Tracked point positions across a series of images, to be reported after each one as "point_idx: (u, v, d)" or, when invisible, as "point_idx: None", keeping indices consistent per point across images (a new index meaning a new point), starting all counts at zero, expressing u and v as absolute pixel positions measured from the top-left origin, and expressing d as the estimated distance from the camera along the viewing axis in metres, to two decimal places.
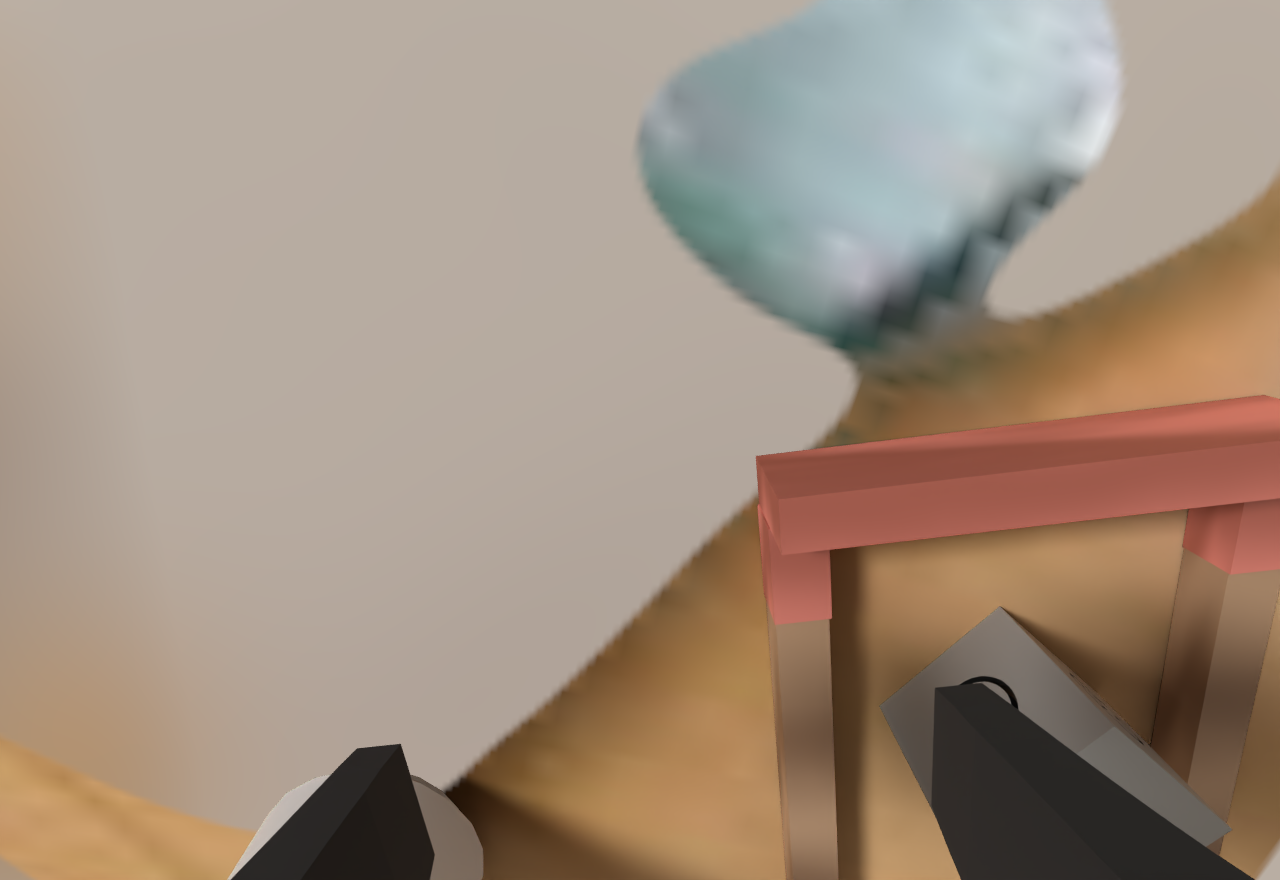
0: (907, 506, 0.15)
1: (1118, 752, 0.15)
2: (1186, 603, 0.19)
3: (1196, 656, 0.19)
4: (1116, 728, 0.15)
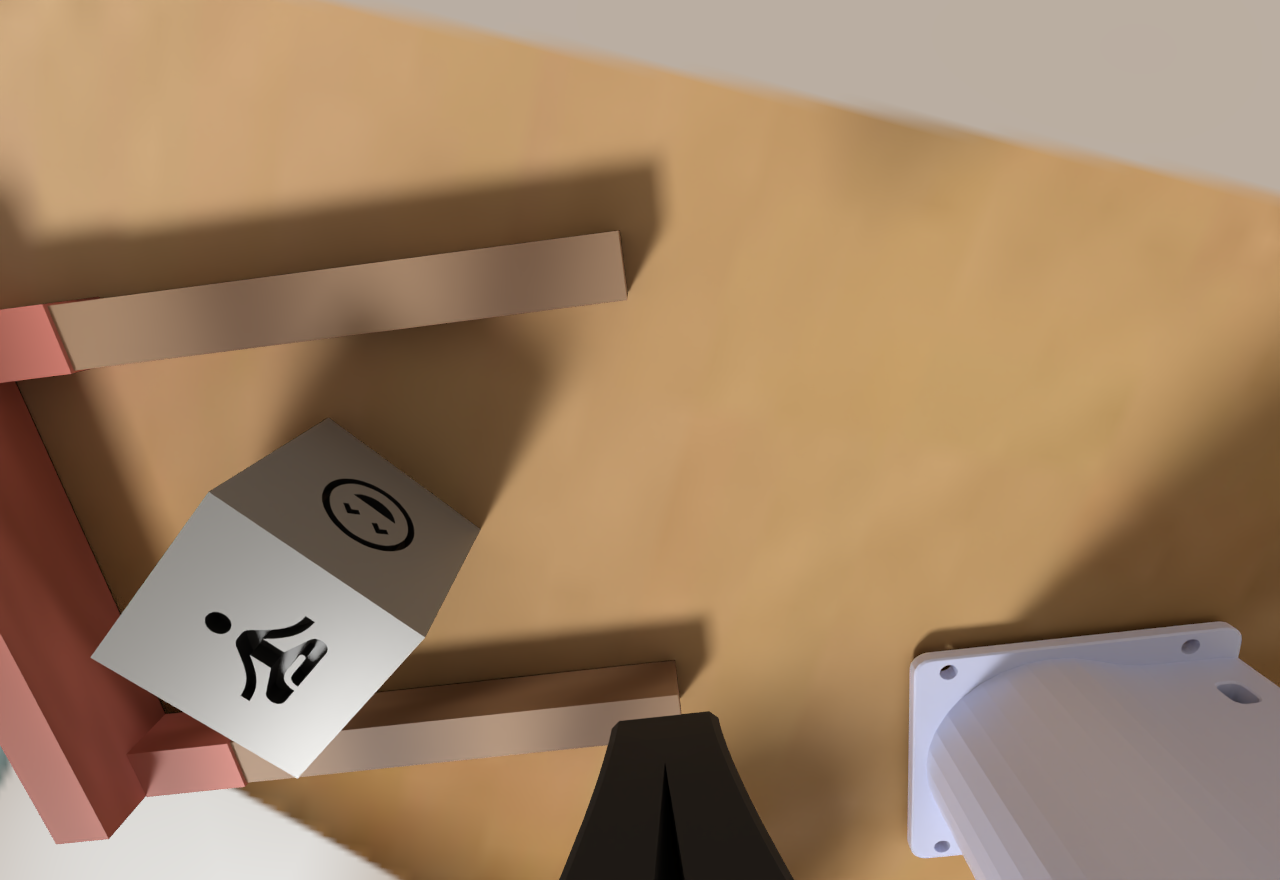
0: (28, 756, 0.16)
1: (125, 645, 0.13)
2: None
3: None
4: (94, 654, 0.13)
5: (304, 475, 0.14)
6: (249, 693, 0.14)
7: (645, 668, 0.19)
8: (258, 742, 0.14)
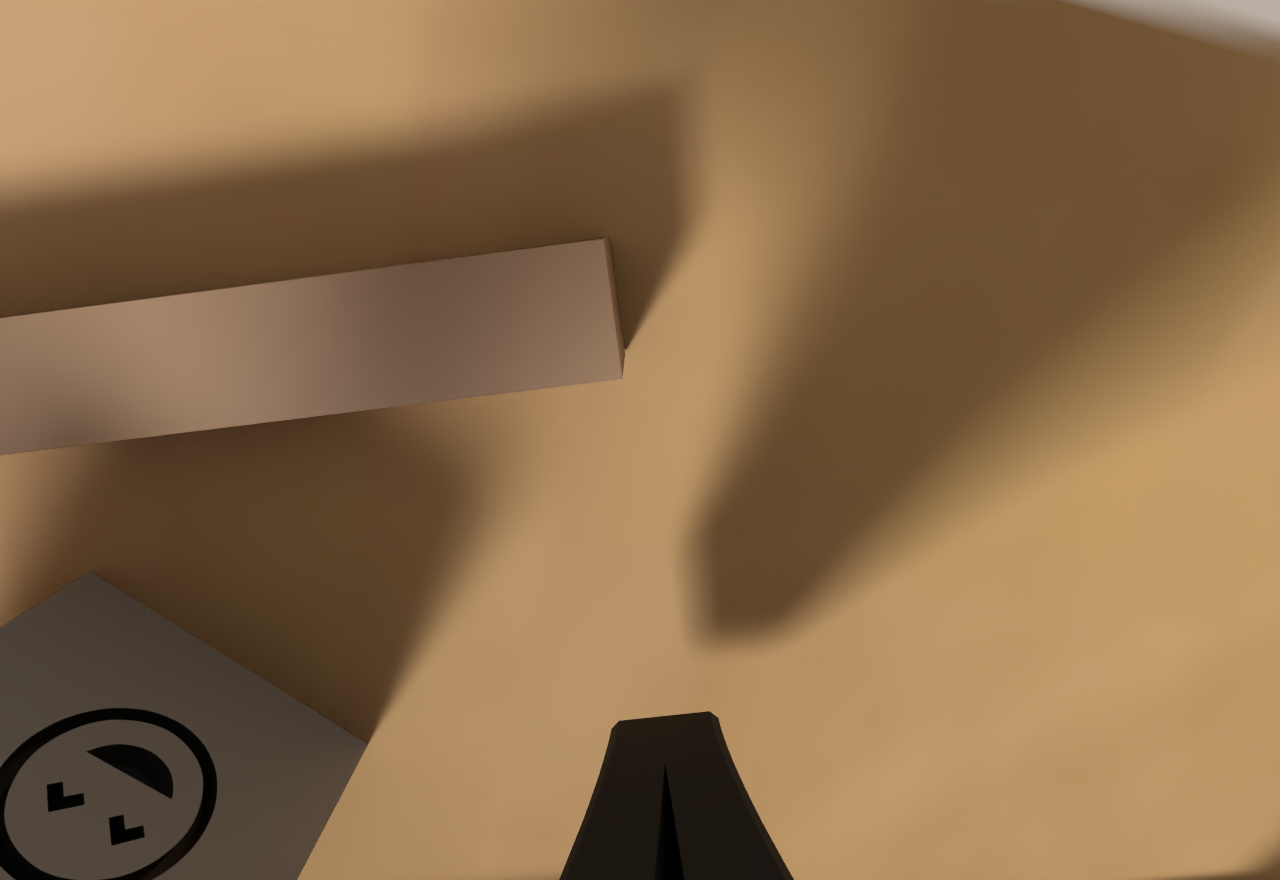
0: None
1: None
2: None
3: None
4: None
5: None
6: None
7: None
8: None
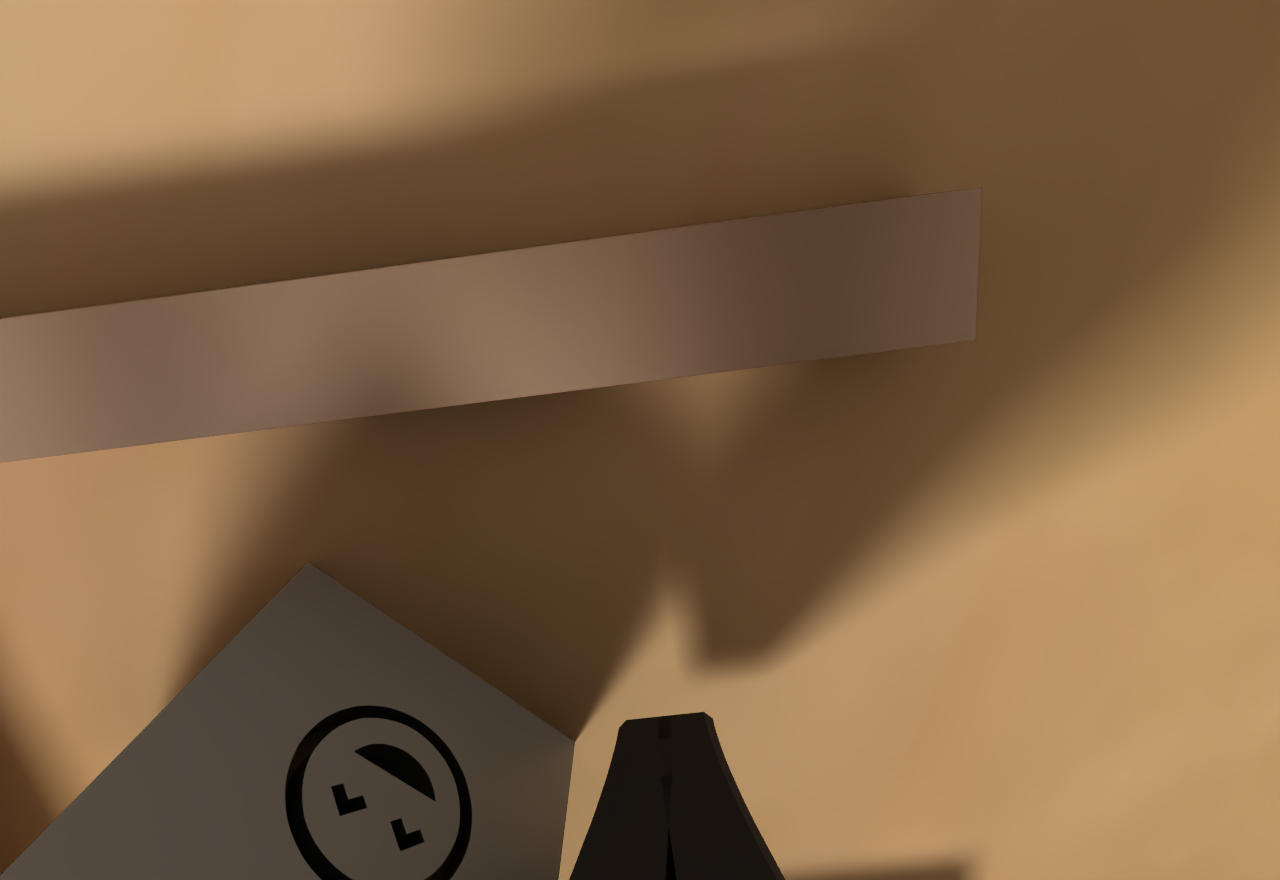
0: None
1: None
2: None
3: None
4: None
5: (248, 738, 0.07)
6: None
7: None
8: None
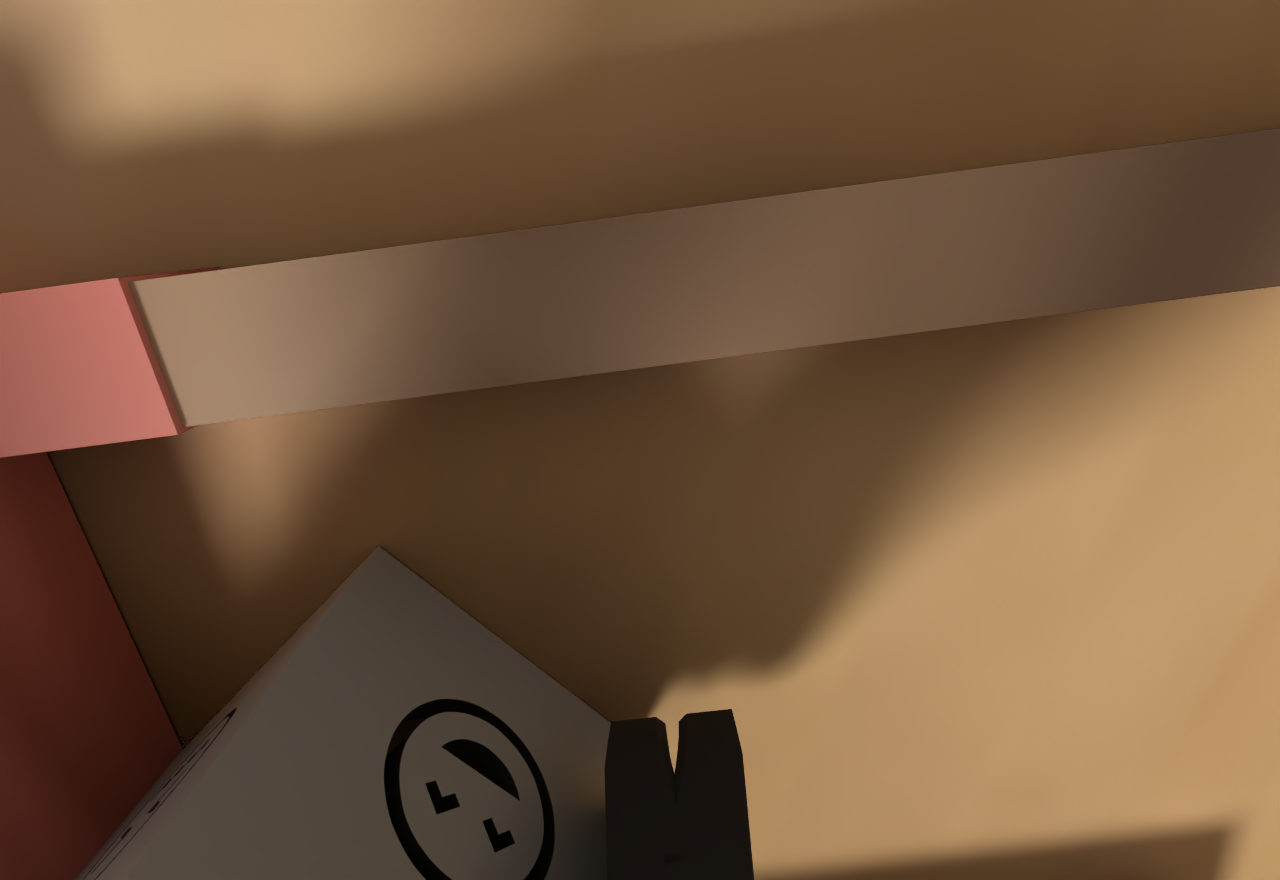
0: None
1: None
2: None
3: None
4: None
5: (344, 730, 0.06)
6: None
7: None
8: None
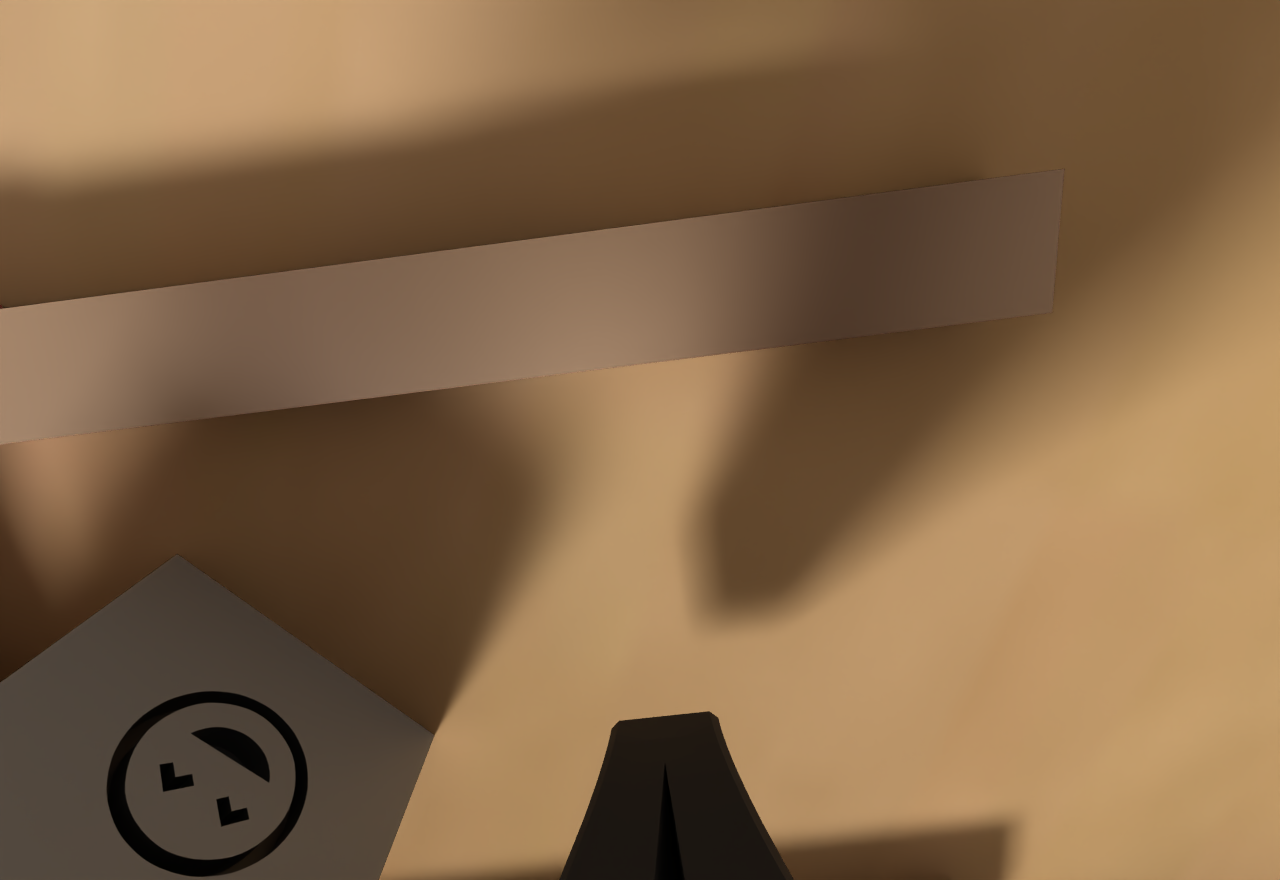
0: None
1: None
2: None
3: None
4: None
5: (80, 716, 0.07)
6: None
7: None
8: None
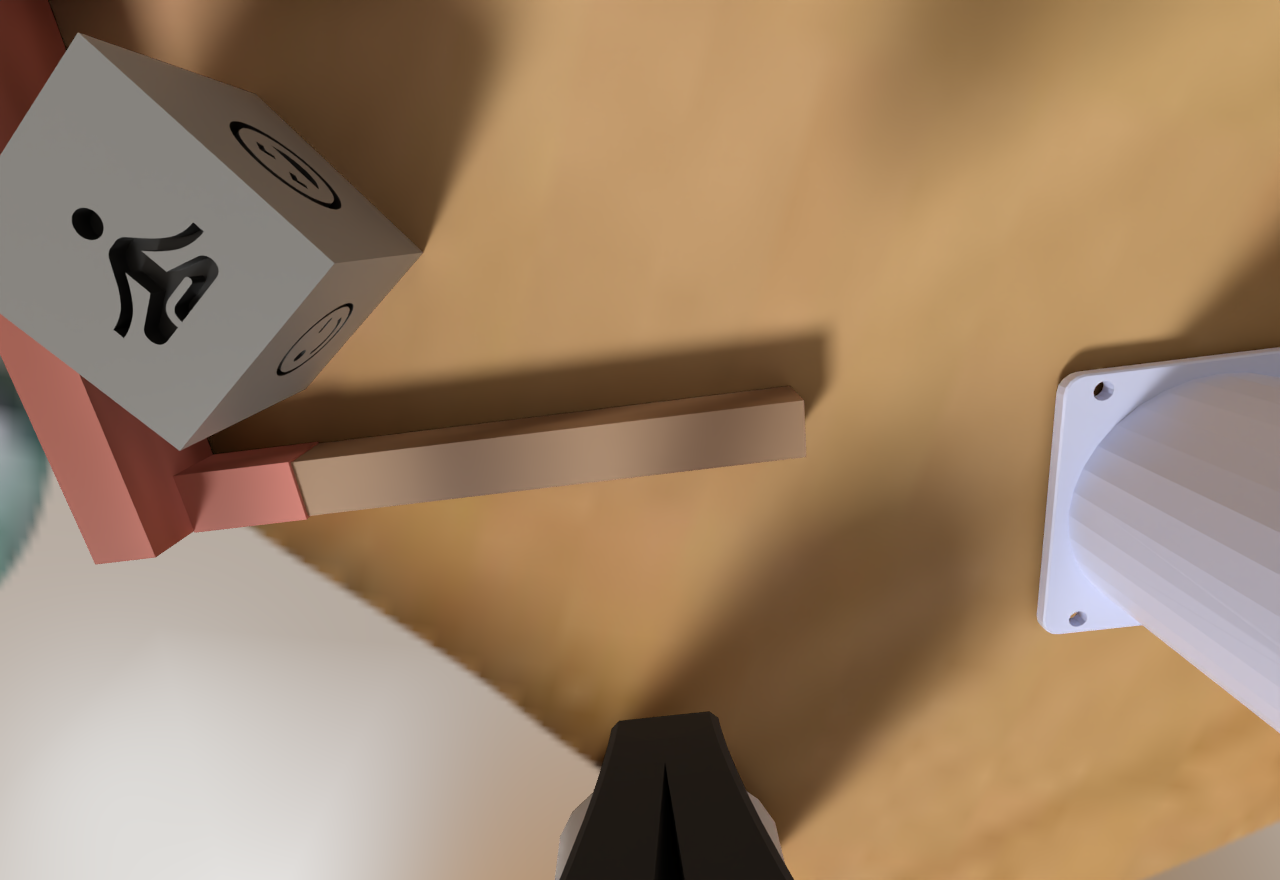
0: (66, 443, 0.14)
1: None
2: None
3: None
4: None
5: (211, 100, 0.12)
6: (125, 332, 0.12)
7: (758, 391, 0.17)
8: (133, 397, 0.12)
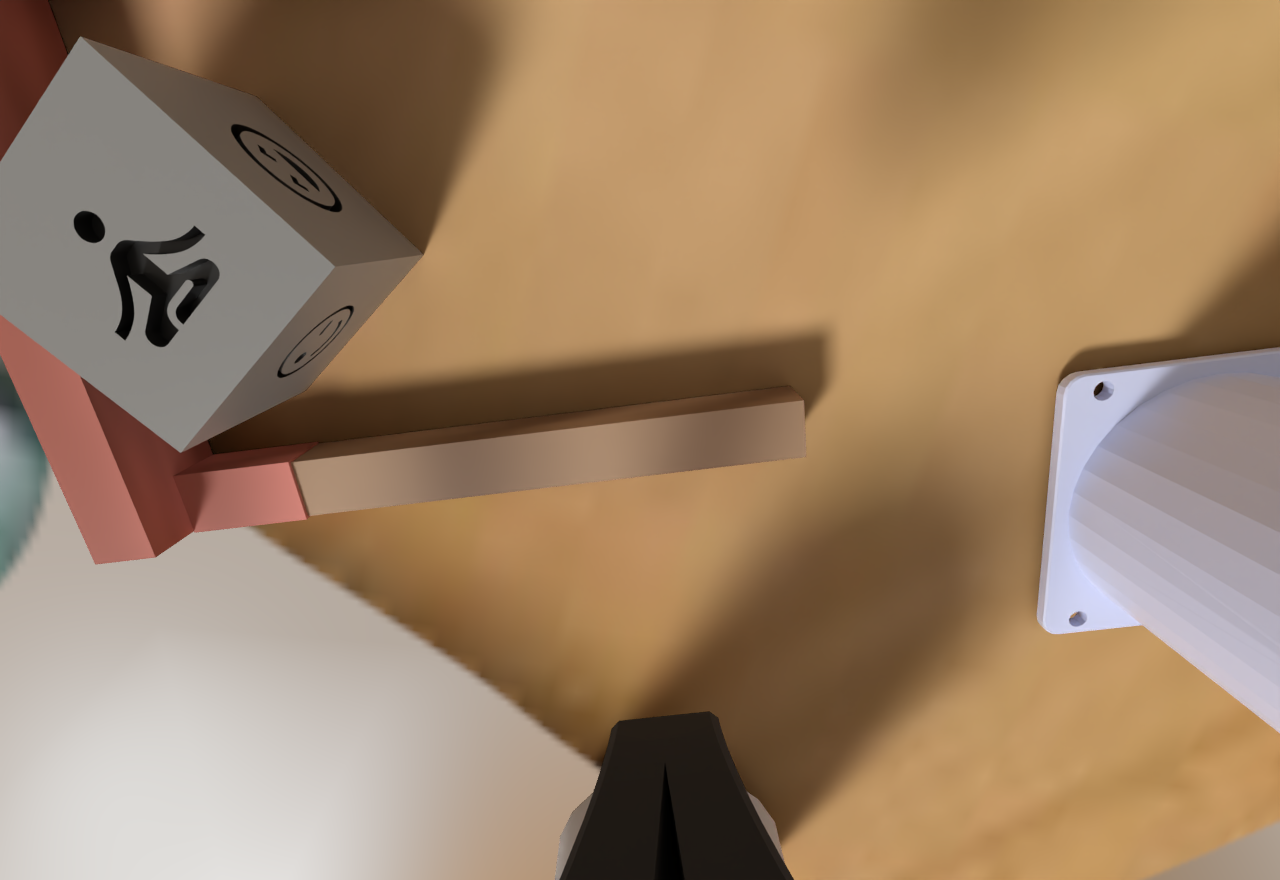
0: (66, 443, 0.14)
1: None
2: None
3: None
4: None
5: (213, 103, 0.12)
6: (126, 334, 0.12)
7: (758, 391, 0.17)
8: (134, 399, 0.12)
